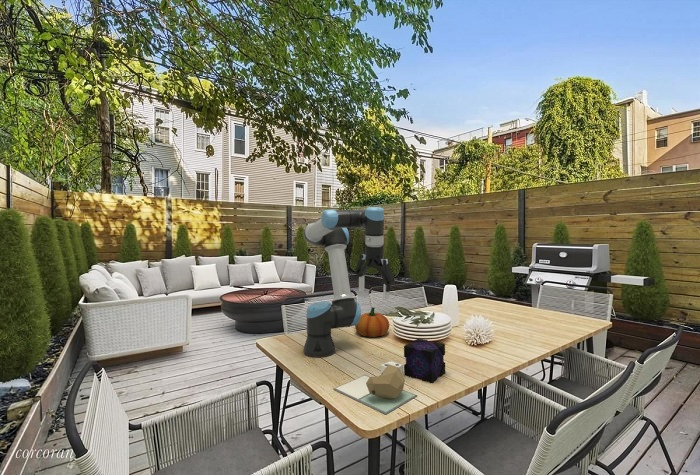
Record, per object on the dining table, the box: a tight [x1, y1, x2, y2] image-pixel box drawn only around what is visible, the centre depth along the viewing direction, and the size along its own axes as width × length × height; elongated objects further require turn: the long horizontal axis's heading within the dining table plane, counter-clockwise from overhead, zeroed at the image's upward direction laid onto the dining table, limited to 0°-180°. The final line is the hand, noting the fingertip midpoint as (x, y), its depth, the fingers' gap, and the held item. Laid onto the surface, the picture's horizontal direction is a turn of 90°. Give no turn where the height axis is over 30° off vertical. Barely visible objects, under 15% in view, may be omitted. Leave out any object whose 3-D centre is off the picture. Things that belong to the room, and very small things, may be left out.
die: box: [380, 360, 404, 375], centre depth 132 cm, size 6×6×6 cm
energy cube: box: [403, 338, 446, 384], centre depth 137 cm, size 12×12×12 cm
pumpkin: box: [354, 307, 390, 338], centre depth 193 cm, size 19×19×15 cm
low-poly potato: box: [366, 364, 405, 399], centre depth 119 cm, size 15×11×12 cm
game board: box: [332, 374, 418, 416], centre depth 122 cm, size 25×17×1 cm
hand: (373, 294), depth 144 cm, fingers open, 13 cm apart
